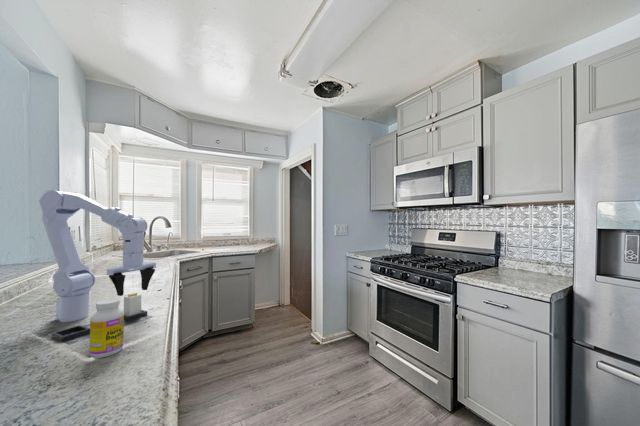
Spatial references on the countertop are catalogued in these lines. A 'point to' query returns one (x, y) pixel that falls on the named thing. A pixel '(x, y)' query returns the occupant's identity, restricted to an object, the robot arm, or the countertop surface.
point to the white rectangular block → (132, 304)
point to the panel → (83, 330)
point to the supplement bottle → (106, 329)
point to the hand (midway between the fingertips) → (132, 292)
